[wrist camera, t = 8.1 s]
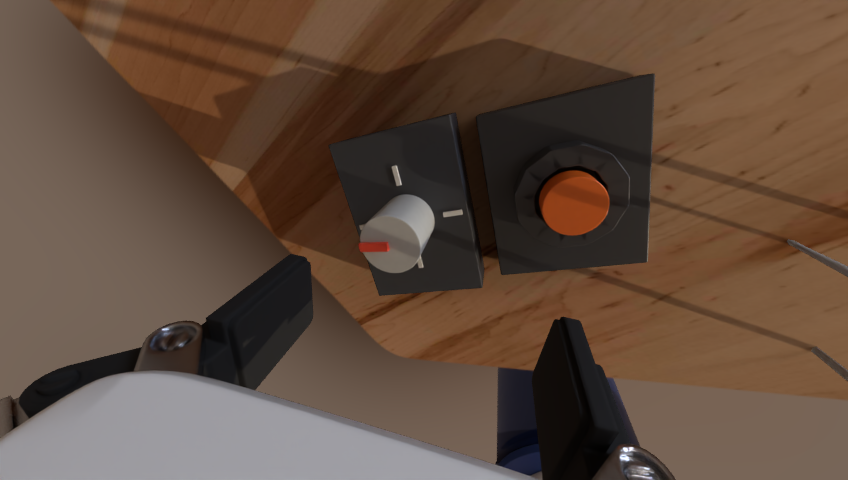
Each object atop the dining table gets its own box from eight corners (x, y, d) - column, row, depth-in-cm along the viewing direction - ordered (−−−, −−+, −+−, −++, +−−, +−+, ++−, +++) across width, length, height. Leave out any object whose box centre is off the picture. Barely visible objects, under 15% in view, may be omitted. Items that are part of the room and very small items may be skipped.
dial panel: (484, 269, 27) (482, 289, 24) (390, 278, 30) (378, 297, 27) (455, 112, 22) (449, 114, 19) (346, 139, 25) (326, 145, 22)
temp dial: (431, 192, 22) (414, 215, 18) (437, 243, 24) (423, 276, 19) (378, 195, 23) (351, 218, 19) (388, 244, 25) (364, 275, 20)
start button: (601, 220, 20) (610, 231, 18) (541, 228, 21) (544, 239, 19) (600, 164, 18) (609, 171, 17) (536, 175, 19) (539, 182, 18)
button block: (636, 248, 23) (659, 276, 20) (501, 262, 26) (501, 288, 23) (639, 75, 19) (671, 70, 16) (477, 114, 22) (473, 118, 18)
